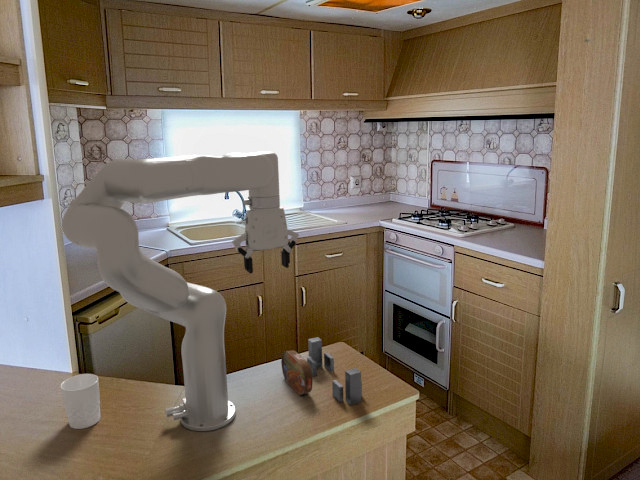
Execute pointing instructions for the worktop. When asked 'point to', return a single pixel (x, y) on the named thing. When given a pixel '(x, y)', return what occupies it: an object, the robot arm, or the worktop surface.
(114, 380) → the worktop surface
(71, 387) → the white cup
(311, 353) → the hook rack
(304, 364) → the tin
